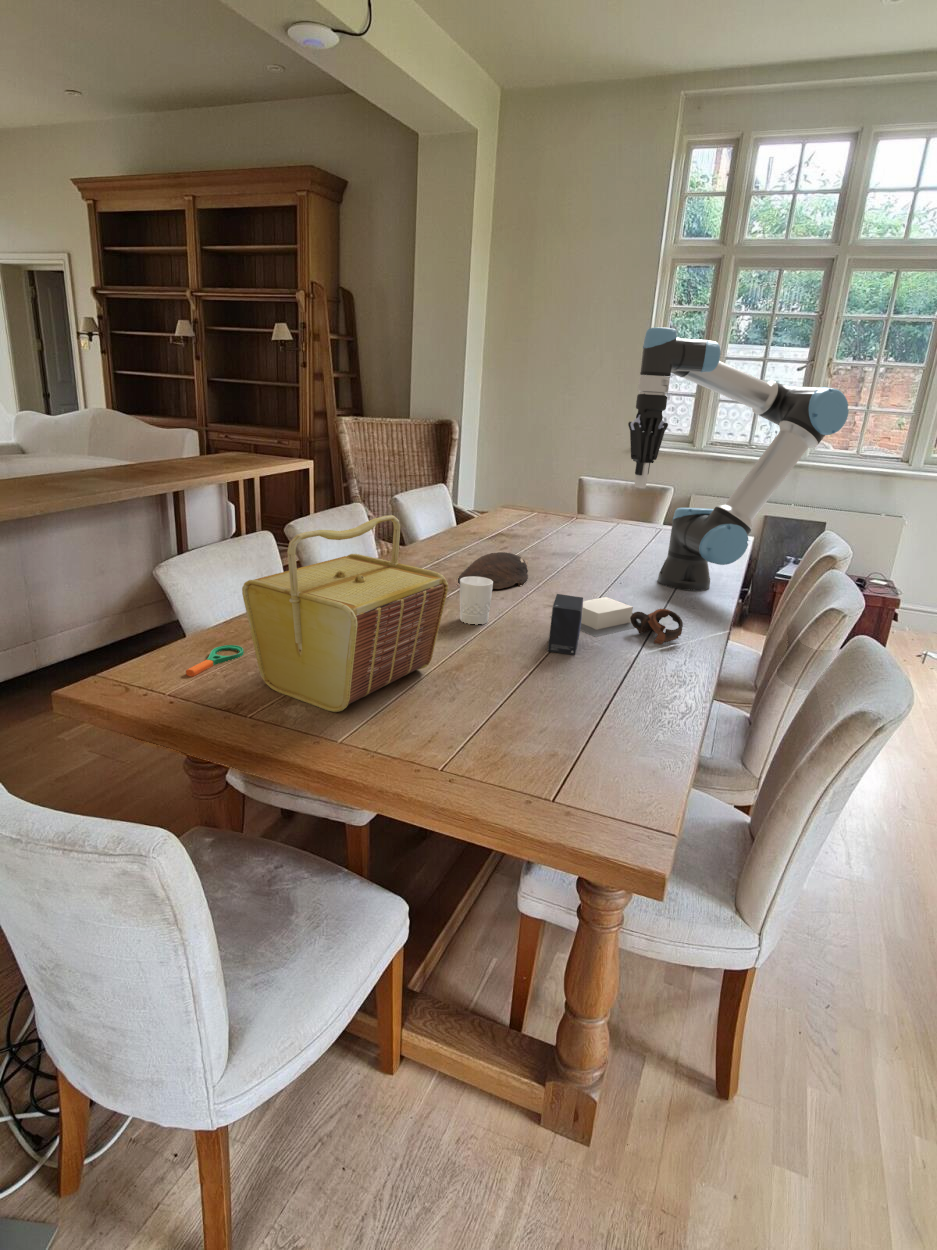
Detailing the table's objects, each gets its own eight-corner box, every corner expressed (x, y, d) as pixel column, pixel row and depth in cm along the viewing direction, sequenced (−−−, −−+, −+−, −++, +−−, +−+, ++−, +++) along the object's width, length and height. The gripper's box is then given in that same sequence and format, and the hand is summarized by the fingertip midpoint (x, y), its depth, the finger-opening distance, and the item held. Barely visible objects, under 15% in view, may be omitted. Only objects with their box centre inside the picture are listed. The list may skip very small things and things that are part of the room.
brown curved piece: (673, 634, 172) (688, 612, 165) (669, 663, 165) (684, 640, 159) (626, 617, 172) (639, 594, 166) (620, 645, 166) (633, 622, 160)
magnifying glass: (224, 648, 147) (223, 640, 146) (250, 653, 145) (249, 645, 145) (176, 675, 133) (175, 667, 132) (204, 680, 131) (203, 672, 131)
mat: (610, 606, 189) (610, 604, 189) (657, 624, 177) (658, 622, 177) (548, 618, 176) (549, 616, 176) (595, 638, 164) (595, 636, 164)
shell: (511, 604, 192) (509, 576, 189) (443, 603, 199) (440, 575, 196) (540, 566, 222) (539, 541, 219) (479, 565, 228) (477, 541, 225)
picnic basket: (349, 727, 117) (350, 549, 107) (240, 686, 129) (232, 523, 119) (447, 673, 140) (455, 523, 130) (348, 642, 153) (348, 503, 143)
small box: (576, 656, 153) (582, 610, 150) (546, 652, 154) (551, 606, 151) (579, 639, 163) (584, 596, 159) (551, 636, 164) (555, 592, 161)
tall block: (606, 596, 181) (572, 603, 174) (632, 606, 174) (598, 613, 168) (604, 611, 183) (570, 618, 176) (630, 622, 176) (596, 629, 169)
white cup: (495, 619, 173) (498, 579, 170) (482, 628, 166) (485, 587, 163) (466, 613, 176) (468, 574, 173) (452, 622, 169) (454, 581, 166)
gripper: (647, 393, 173) (634, 490, 181) (681, 395, 181) (667, 488, 188) (623, 392, 179) (612, 486, 187) (657, 393, 186) (645, 484, 194)
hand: (639, 487), depth 187 cm, fingers closed
